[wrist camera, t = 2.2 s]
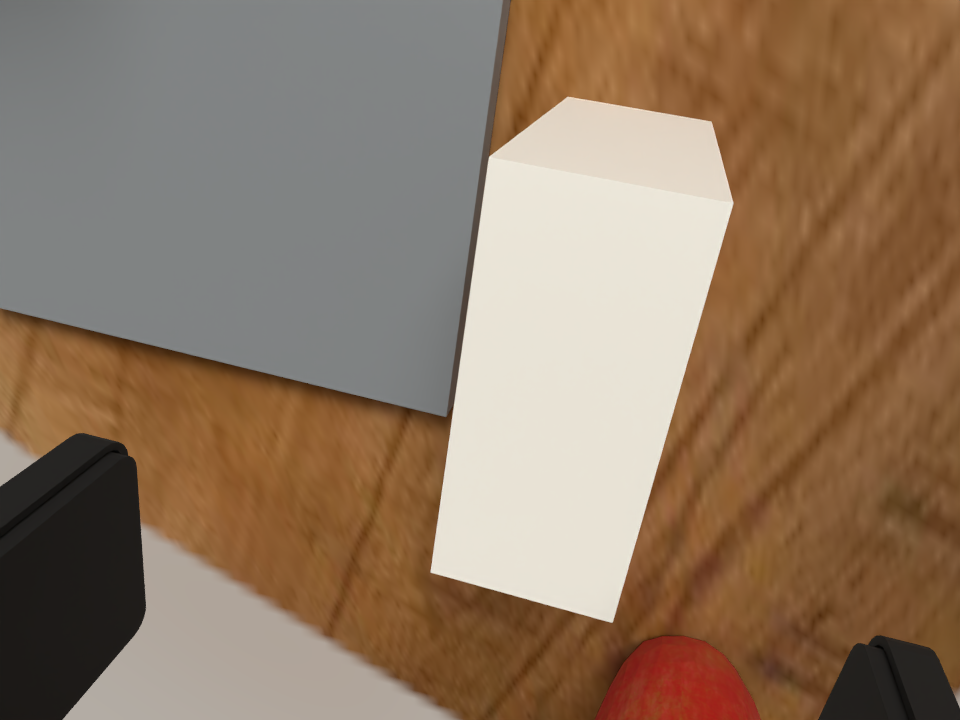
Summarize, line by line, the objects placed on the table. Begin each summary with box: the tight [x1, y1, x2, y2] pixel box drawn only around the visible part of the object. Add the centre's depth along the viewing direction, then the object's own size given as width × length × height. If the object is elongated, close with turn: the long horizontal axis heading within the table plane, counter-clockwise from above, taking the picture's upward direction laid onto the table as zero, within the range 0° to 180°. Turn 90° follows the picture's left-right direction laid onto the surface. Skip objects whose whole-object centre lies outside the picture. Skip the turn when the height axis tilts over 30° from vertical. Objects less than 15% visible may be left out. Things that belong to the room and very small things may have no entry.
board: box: [0, 0, 511, 417], centre depth 24 cm, size 18×14×1 cm
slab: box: [431, 97, 733, 623], centre depth 19 cm, size 4×9×10 cm, turn 172°
